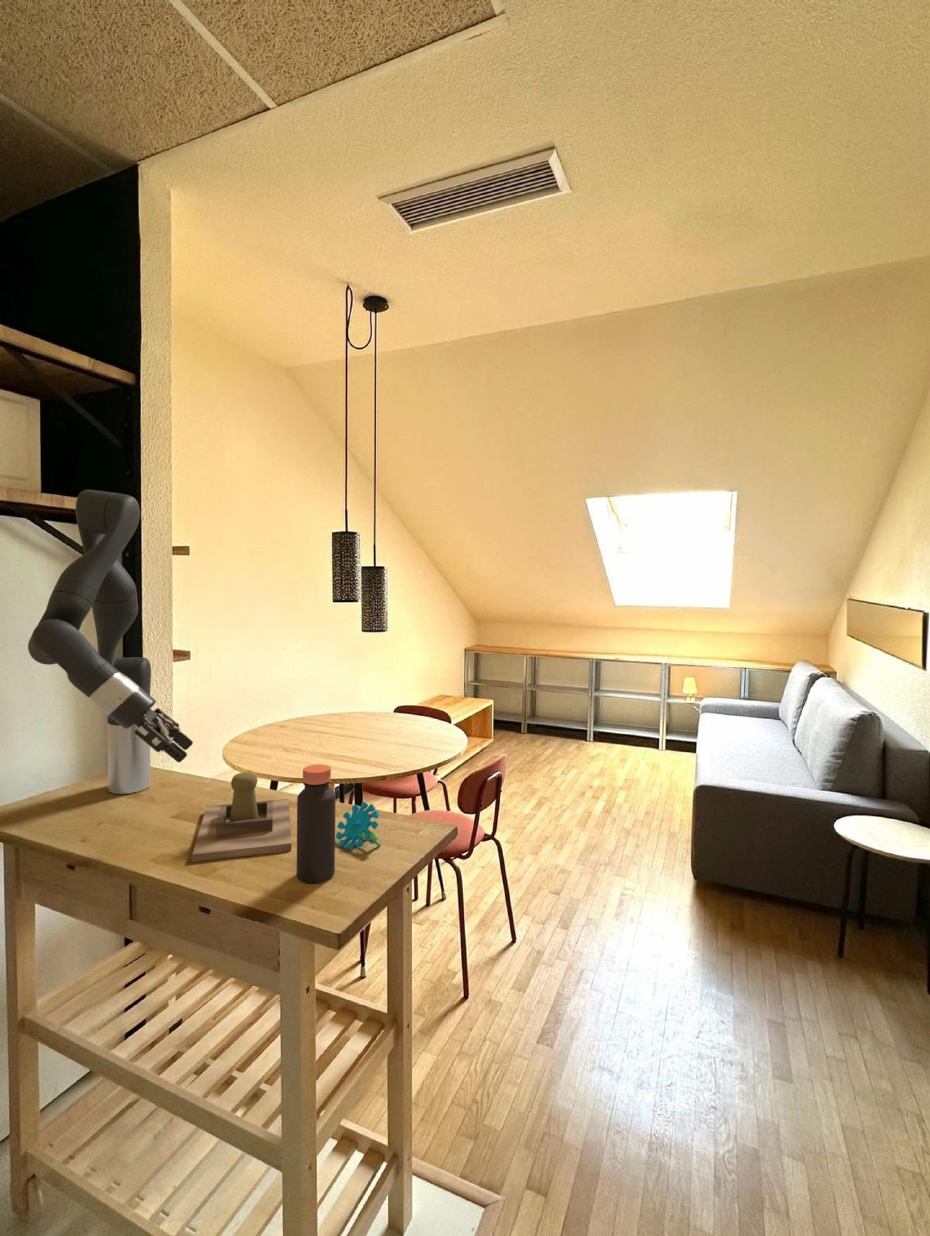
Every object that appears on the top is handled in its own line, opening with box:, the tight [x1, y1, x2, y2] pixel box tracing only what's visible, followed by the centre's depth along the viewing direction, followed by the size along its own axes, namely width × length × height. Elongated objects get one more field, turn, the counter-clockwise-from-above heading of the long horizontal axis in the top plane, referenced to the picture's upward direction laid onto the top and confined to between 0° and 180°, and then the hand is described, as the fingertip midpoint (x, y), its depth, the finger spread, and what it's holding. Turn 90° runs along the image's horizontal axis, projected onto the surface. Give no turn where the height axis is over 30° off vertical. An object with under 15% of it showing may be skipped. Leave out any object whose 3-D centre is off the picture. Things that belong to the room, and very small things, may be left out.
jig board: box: [191, 798, 292, 863], centre depth 122 cm, size 24×18×4 cm
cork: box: [230, 771, 259, 821], centre depth 121 cm, size 6×6×11 cm
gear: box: [335, 801, 382, 851], centre depth 118 cm, size 11×6×10 cm
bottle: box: [296, 763, 337, 885], centre depth 104 cm, size 7×7×20 cm
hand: (186, 752), depth 118 cm, fingers open, 8 cm apart
